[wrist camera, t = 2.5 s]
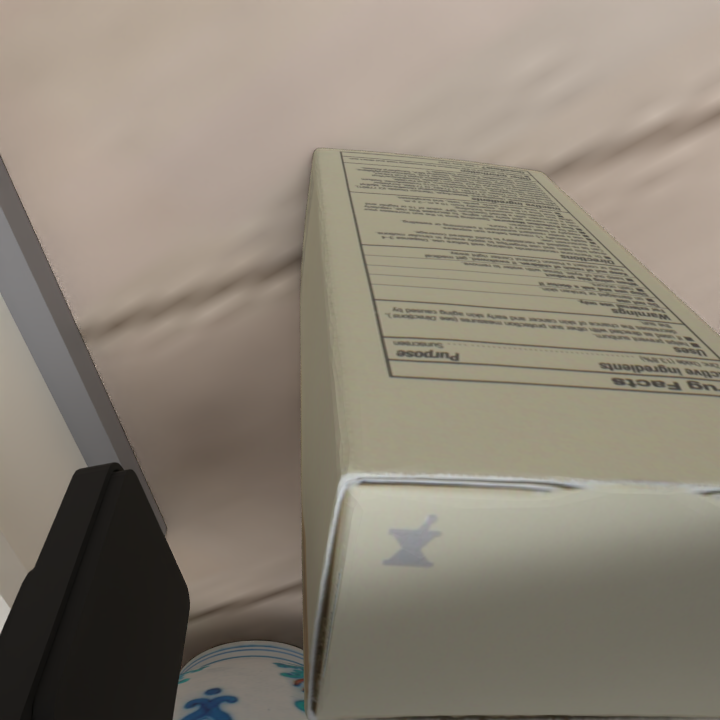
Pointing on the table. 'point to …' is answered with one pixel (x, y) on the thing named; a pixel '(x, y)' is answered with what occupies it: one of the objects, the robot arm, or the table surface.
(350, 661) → the skincare box
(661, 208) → the table surface
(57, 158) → the table surface
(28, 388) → the display podium
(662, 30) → the table surface
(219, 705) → the chinaware
